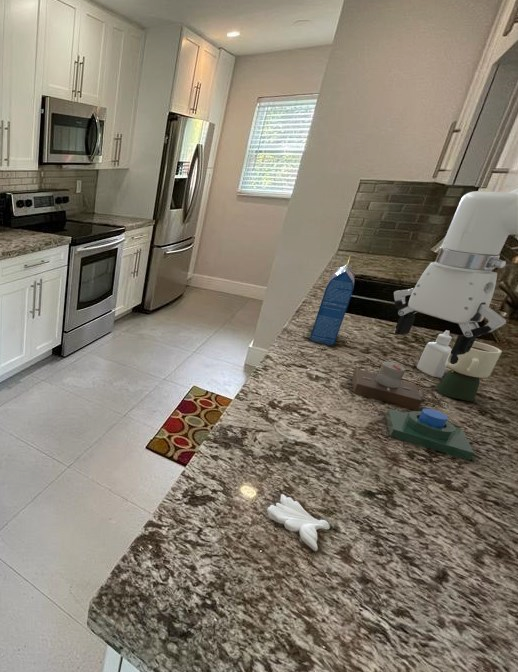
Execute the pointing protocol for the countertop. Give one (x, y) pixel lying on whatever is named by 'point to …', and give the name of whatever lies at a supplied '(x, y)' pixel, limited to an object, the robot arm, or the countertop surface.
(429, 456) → the countertop surface
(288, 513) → the acanthus leaf ornament
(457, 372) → the character mug
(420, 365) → the eye dropper bottle
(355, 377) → the knob console
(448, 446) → the push cap base
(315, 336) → the blue food package
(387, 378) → the dial
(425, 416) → the push cap
